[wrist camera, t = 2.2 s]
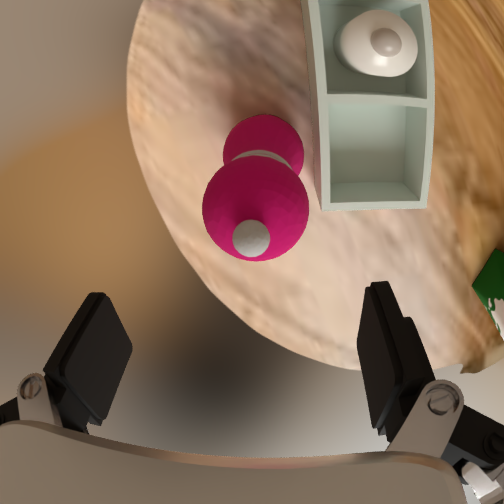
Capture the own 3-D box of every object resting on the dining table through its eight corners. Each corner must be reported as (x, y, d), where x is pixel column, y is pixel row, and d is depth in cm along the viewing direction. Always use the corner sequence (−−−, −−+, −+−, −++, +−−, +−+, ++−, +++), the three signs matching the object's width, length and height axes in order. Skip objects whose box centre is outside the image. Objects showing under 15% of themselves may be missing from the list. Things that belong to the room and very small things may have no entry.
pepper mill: (314, 137, 30) (362, 235, 13) (273, 188, 34) (267, 326, 17) (256, 96, 28) (224, 136, 11) (217, 151, 32) (148, 260, 15)
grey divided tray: (300, -1, 22) (305, -16, 17) (402, 6, 21) (427, -3, 16) (314, 187, 33) (321, 211, 28) (405, 185, 32) (426, 208, 27)
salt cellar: (330, 20, 22) (350, 3, 15) (386, 23, 22) (422, 12, 15) (335, 73, 25) (357, 75, 18) (390, 75, 25) (427, 81, 18)
